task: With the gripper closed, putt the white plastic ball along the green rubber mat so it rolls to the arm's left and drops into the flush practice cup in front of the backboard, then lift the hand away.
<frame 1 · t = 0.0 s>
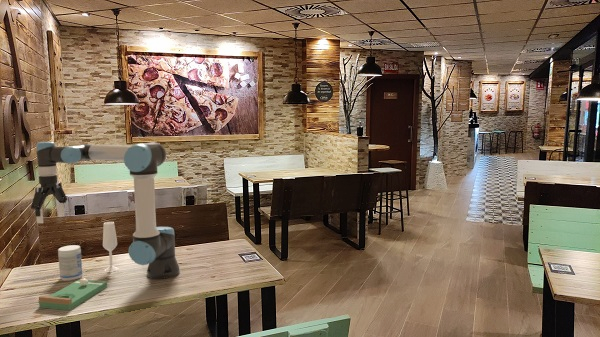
hand: (51, 219, 206), 28 cm above the table, fingers open, 13 cm apart
supplement tub: (71, 278, 208), on the table
champagne flute: (111, 269, 218), on the table
mat: (75, 296, 186), on the table
ball: (83, 282, 192), point 4 cm above the table, touching mat
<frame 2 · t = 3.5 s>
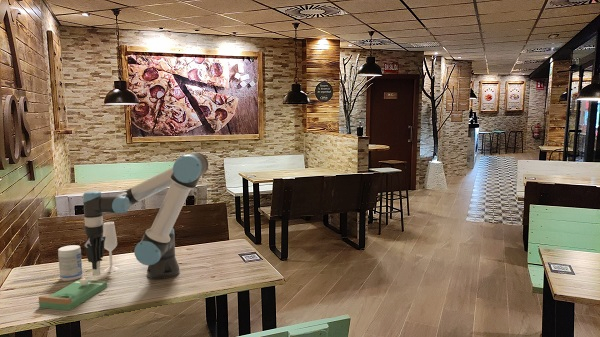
hand: (96, 274, 201), 4 cm above the table, fingers closed
nothing on the table moved.
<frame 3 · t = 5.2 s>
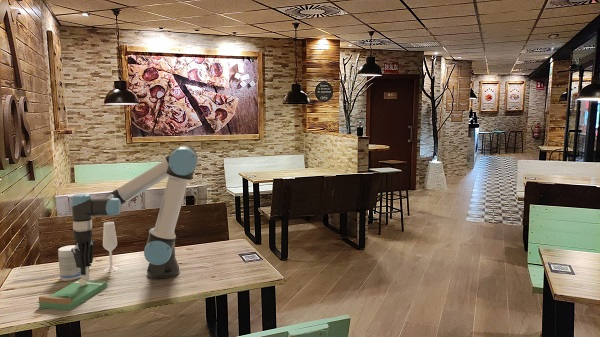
hand: (85, 280, 193), 4 cm above the table, fingers closed
ball: (82, 282, 191), point 4 cm above the table, tilted 23°, touching mat
everything else where it was.
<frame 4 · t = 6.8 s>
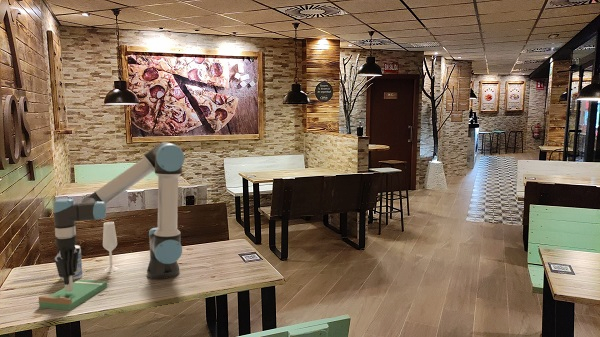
hand: (69, 290, 183), 4 cm above the table, fingers closed
ball: (62, 300, 179), point 2 cm above the table, tilted 147°
everything else where it was.
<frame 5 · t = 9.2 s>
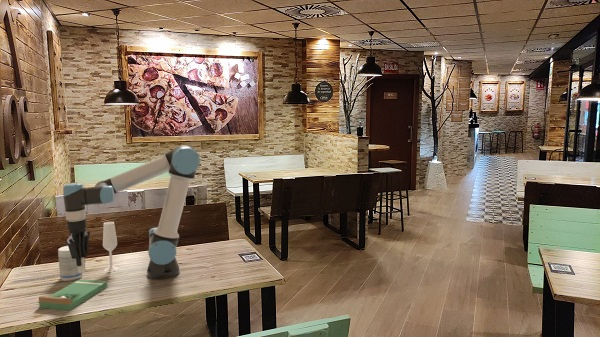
hand: (81, 272, 189), 9 cm above the table, fingers closed
ball: (62, 300, 179), point 2 cm above the table, tilted 138°
everything else where it was.
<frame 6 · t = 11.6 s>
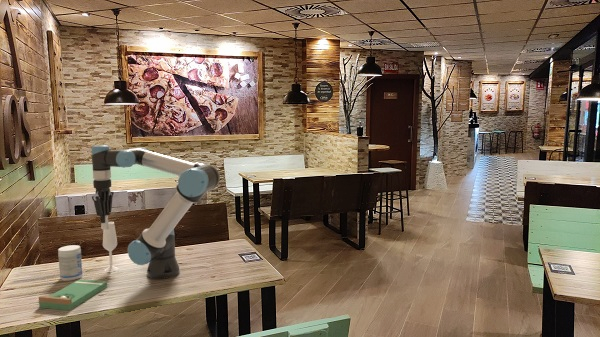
hand: (105, 229, 202), 24 cm above the table, fingers closed
ball: (63, 299, 179), point 2 cm above the table, tilted 129°
everything else where it was.
at the end: ball 0.1 cm from the target spot in the mat, point 1.6 cm above the mat's base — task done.
